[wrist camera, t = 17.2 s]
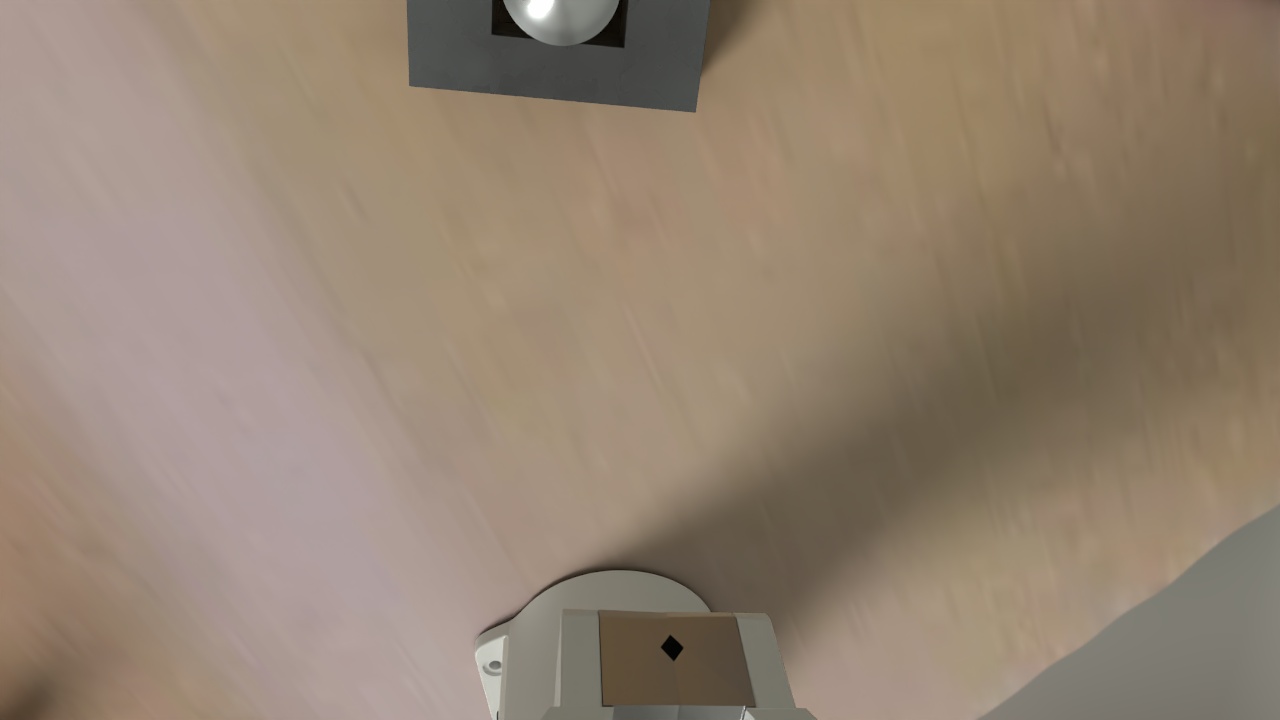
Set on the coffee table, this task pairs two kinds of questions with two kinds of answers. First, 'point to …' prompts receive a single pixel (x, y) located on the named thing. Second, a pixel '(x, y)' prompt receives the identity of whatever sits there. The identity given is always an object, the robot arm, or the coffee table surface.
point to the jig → (562, 50)
